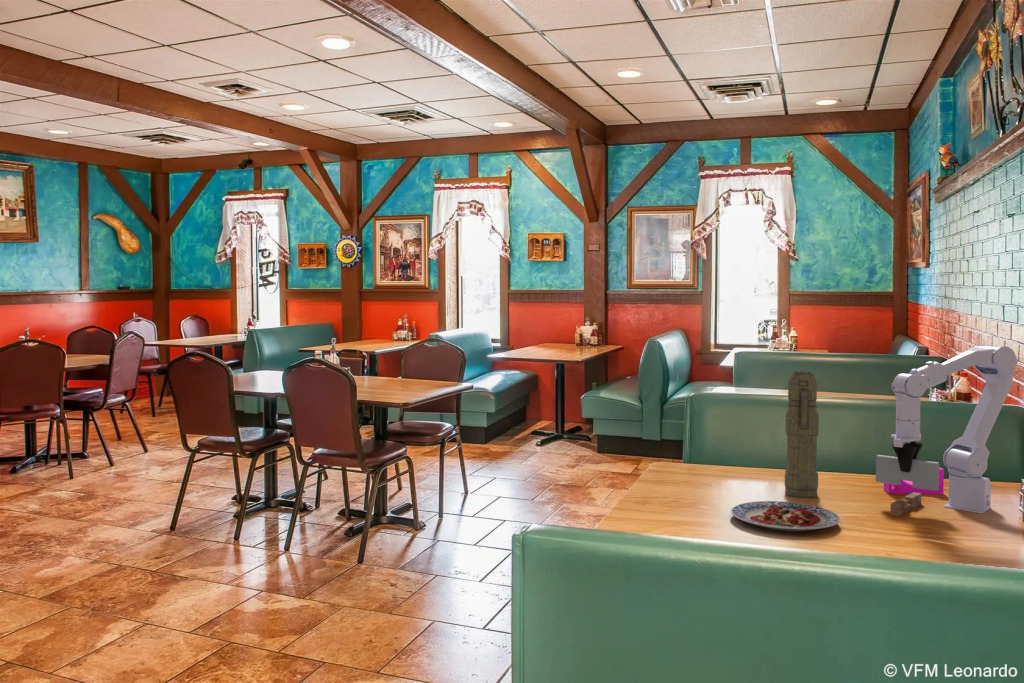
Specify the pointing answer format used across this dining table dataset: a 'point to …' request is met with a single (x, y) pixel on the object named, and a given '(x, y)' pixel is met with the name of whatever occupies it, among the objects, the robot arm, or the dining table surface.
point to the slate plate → (920, 473)
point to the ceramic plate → (785, 515)
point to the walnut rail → (906, 504)
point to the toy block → (908, 489)
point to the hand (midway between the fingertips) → (907, 471)
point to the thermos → (802, 436)
